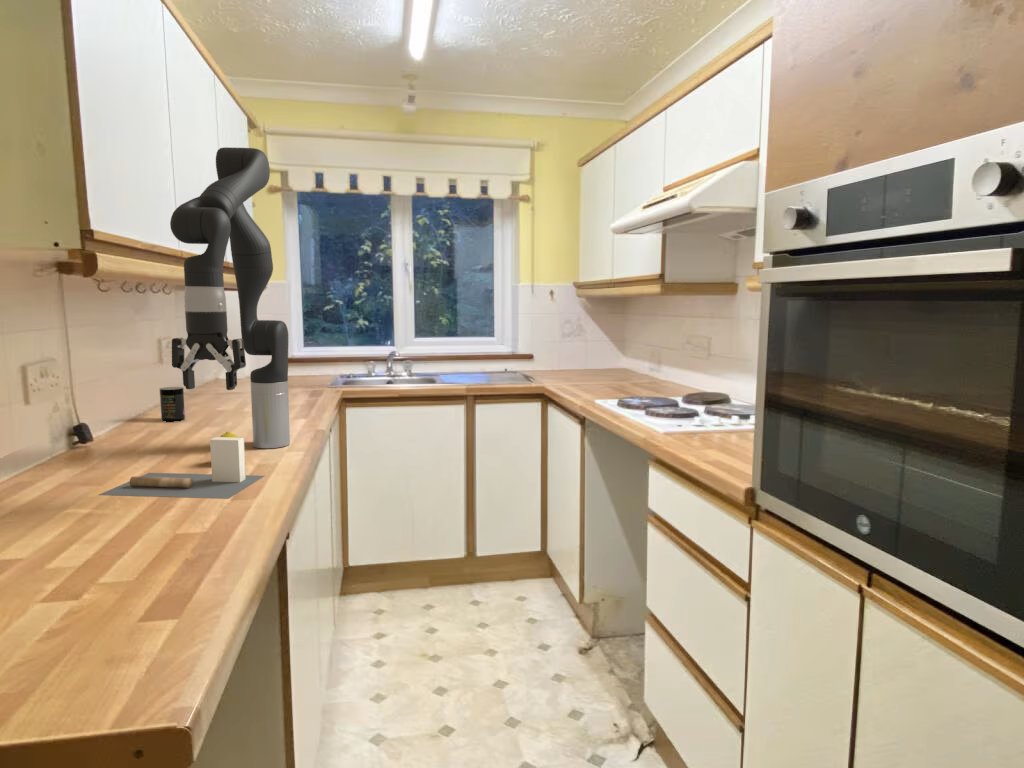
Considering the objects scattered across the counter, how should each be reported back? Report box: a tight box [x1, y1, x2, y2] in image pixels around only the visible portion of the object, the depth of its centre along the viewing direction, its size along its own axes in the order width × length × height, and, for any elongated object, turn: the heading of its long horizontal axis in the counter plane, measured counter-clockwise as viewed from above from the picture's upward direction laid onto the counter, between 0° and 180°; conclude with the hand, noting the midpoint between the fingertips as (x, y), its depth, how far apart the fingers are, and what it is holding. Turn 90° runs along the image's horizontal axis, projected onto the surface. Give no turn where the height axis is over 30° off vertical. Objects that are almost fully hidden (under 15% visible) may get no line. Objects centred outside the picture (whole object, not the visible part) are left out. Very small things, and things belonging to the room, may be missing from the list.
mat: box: [98, 472, 265, 500], centre depth 130 cm, size 16×26×1 cm, turn 87°
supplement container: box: [159, 386, 186, 423], centre depth 199 cm, size 7×7×10 cm
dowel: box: [129, 476, 193, 488], centre depth 128 cm, size 2×12×2 cm, turn 87°
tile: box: [209, 436, 247, 482], centre depth 133 cm, size 2×6×9 cm, turn 87°
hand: (210, 389), depth 129 cm, fingers open, 8 cm apart
